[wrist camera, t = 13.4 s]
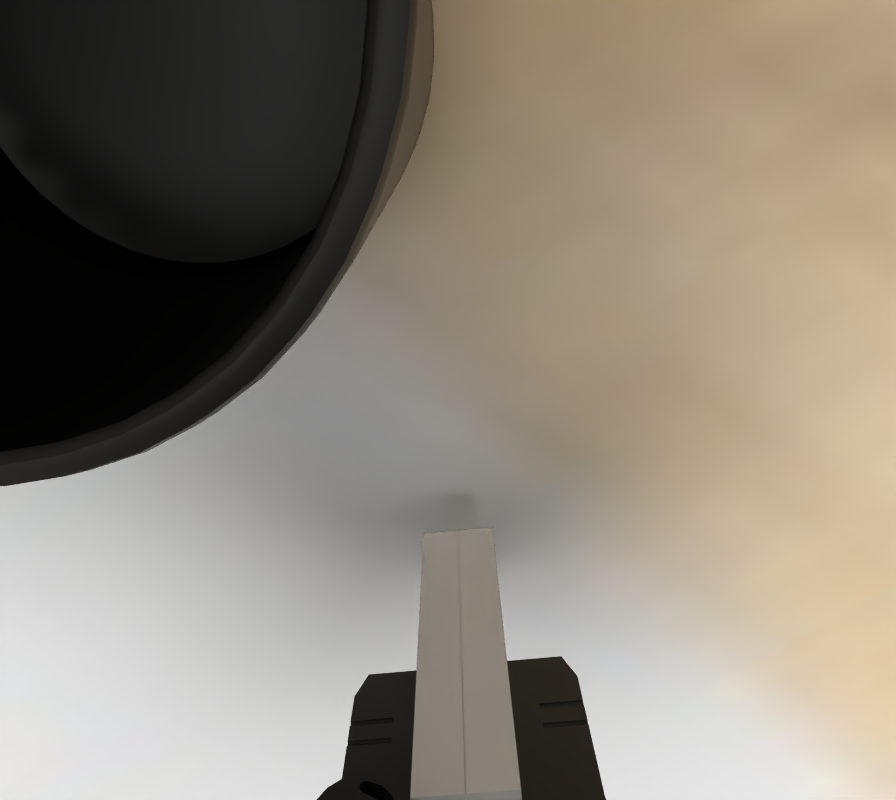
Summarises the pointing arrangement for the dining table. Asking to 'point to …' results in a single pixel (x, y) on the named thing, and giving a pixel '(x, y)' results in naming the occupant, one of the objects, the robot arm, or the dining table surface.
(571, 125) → the dining table surface
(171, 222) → the mug
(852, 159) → the dining table surface
